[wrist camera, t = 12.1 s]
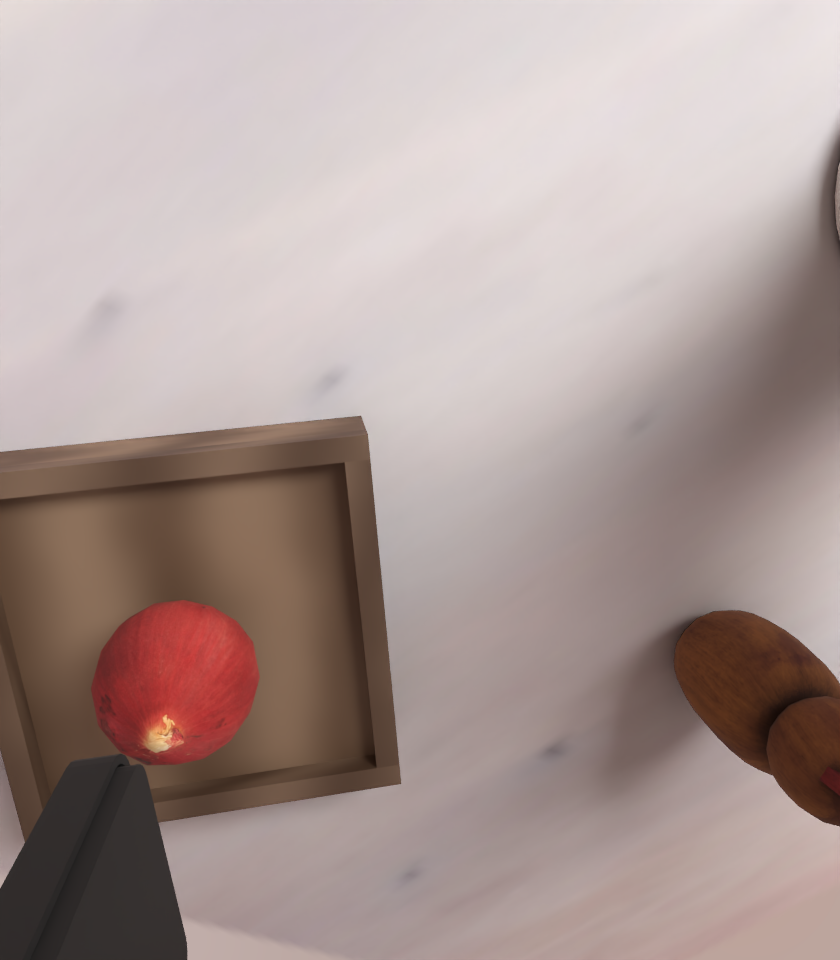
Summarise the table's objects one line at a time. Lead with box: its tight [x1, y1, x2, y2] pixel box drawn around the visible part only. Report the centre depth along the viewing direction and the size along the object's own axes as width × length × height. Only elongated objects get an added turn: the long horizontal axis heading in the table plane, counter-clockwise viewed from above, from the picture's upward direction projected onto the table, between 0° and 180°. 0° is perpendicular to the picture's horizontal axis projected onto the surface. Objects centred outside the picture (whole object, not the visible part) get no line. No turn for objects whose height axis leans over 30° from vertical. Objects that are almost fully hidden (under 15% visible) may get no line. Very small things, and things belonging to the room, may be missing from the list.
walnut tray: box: [0, 416, 401, 842], centre depth 32 cm, size 16×16×4 cm
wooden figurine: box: [674, 610, 840, 826], centre depth 32 cm, size 7×6×15 cm
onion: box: [91, 600, 260, 765], centre depth 27 cm, size 6×6×8 cm
